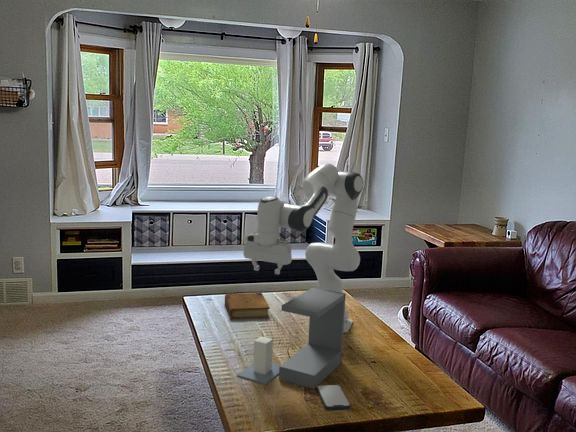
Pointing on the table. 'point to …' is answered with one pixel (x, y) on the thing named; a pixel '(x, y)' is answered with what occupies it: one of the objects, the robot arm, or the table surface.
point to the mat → (259, 377)
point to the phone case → (333, 397)
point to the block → (263, 355)
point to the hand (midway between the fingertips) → (266, 272)
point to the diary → (246, 305)
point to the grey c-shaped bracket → (316, 337)
